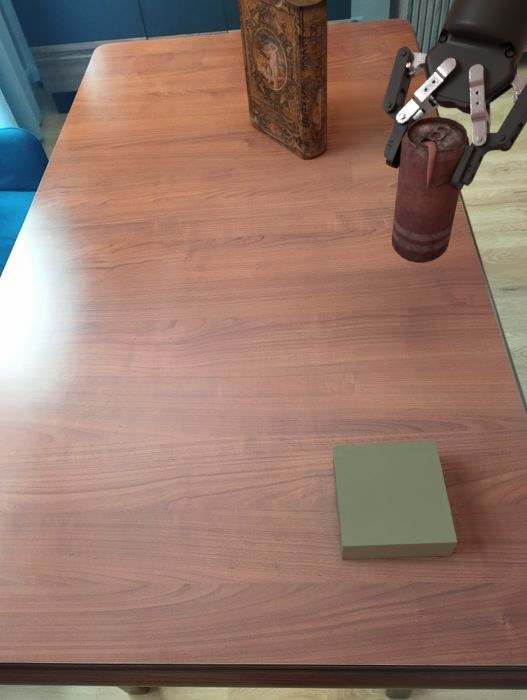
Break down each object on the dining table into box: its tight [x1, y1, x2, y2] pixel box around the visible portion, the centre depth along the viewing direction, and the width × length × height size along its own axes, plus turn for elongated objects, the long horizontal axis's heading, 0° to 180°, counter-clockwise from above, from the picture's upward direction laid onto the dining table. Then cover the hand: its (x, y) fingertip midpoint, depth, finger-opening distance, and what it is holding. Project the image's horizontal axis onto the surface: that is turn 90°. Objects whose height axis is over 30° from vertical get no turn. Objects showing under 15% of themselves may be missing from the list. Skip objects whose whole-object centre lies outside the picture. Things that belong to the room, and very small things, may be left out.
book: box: [237, 0, 329, 161], centre depth 97 cm, size 16×6×25 cm, turn 39°
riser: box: [332, 440, 458, 560], centre depth 61 cm, size 11×11×4 cm
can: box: [391, 116, 471, 264], centre depth 59 cm, size 6×6×14 cm
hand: (423, 176), depth 56 cm, fingers closed on can, 6 cm apart
